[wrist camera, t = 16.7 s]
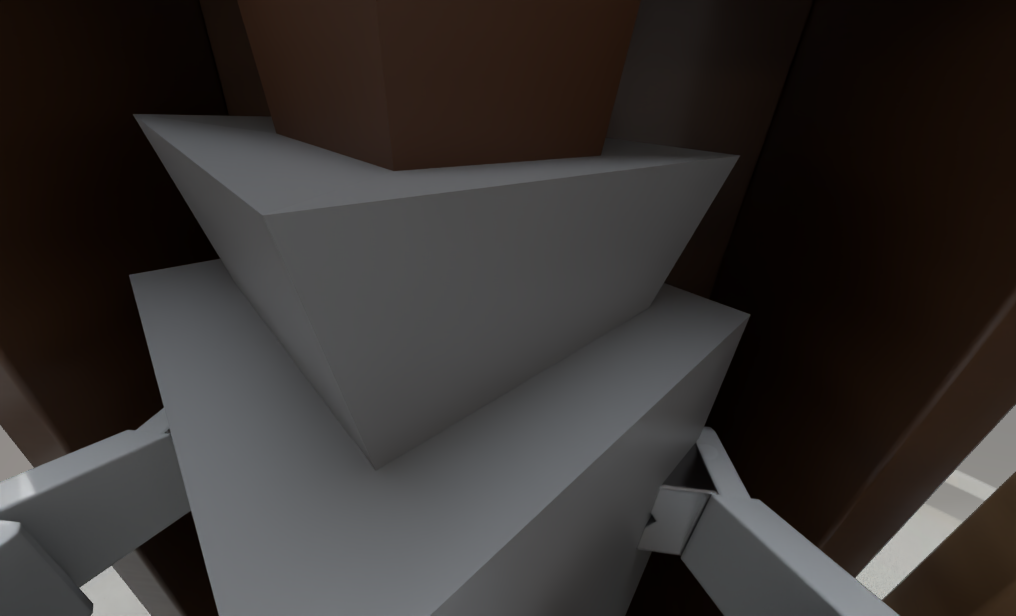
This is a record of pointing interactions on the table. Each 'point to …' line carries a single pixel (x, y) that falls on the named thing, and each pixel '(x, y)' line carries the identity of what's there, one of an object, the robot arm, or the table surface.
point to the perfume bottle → (432, 314)
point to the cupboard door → (967, 566)
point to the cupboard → (699, 270)
